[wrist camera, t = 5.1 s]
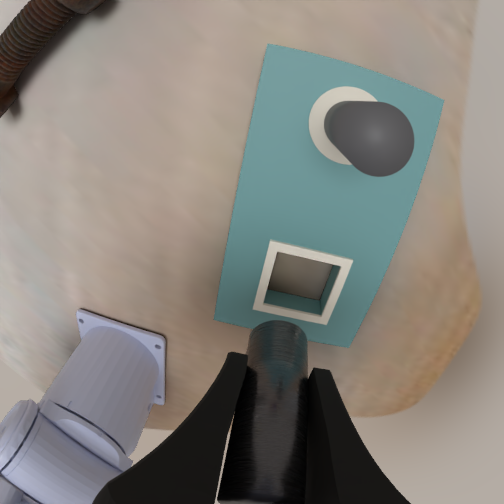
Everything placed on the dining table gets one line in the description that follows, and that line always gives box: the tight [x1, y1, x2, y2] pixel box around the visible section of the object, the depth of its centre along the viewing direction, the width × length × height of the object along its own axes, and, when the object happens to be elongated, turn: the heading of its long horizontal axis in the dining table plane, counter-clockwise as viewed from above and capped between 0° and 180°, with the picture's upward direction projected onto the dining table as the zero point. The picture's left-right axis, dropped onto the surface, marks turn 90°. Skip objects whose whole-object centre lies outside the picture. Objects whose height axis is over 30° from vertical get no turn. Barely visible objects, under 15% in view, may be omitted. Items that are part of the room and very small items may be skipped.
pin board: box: [214, 44, 444, 348], centre depth 14 cm, size 16×9×7 cm, turn 169°
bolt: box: [0, 0, 106, 118], centre depth 11 cm, size 6×5×15 cm
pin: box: [217, 320, 308, 504], centre depth 10 cm, size 2×2×7 cm
